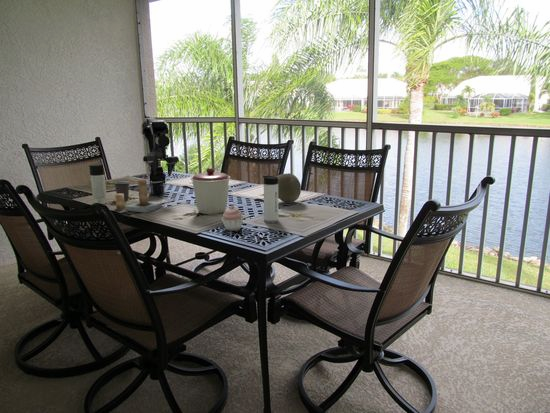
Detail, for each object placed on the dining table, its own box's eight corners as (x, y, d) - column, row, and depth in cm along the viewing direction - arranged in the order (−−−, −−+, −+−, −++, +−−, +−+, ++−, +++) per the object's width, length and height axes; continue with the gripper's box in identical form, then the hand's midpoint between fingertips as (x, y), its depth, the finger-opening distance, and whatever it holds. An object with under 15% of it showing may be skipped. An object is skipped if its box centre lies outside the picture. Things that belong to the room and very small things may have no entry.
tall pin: (138, 208, 211) (136, 180, 208) (146, 207, 214) (144, 179, 210) (142, 209, 208) (139, 181, 205) (150, 208, 211) (147, 180, 208)
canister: (197, 207, 213) (194, 164, 208) (233, 207, 213) (232, 164, 208) (188, 217, 196) (186, 170, 191) (228, 217, 195) (227, 170, 190)
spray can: (110, 202, 224) (106, 163, 219) (101, 205, 218) (96, 165, 213) (99, 201, 226) (95, 163, 221) (90, 204, 220) (85, 165, 215)
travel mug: (262, 219, 191) (262, 174, 186) (277, 218, 192) (277, 174, 187) (263, 223, 185) (263, 177, 180) (279, 222, 186) (278, 176, 181)
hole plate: (126, 210, 208) (125, 206, 208) (142, 204, 219) (142, 200, 218) (146, 212, 203) (145, 208, 203) (162, 206, 214) (161, 202, 214)
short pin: (114, 208, 211) (113, 194, 209) (120, 207, 214) (119, 193, 213) (121, 209, 209) (119, 195, 208) (126, 207, 213) (125, 193, 211)
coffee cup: (134, 198, 232) (133, 180, 229) (123, 202, 224) (121, 183, 222) (123, 197, 235) (121, 179, 232) (111, 200, 228) (109, 181, 225)
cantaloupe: (286, 198, 231) (286, 170, 227) (306, 202, 221) (306, 173, 217) (267, 202, 221) (267, 173, 217) (287, 207, 211) (287, 177, 208)
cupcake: (217, 230, 175) (216, 206, 173) (227, 224, 184) (227, 201, 181) (238, 233, 172) (237, 208, 170) (247, 226, 181) (247, 203, 178)
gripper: (134, 146, 217) (137, 177, 221) (164, 147, 210) (167, 179, 214) (149, 144, 227) (151, 173, 231) (178, 145, 220) (180, 175, 224)
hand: (162, 175), depth 225 cm, fingers open, 9 cm apart
